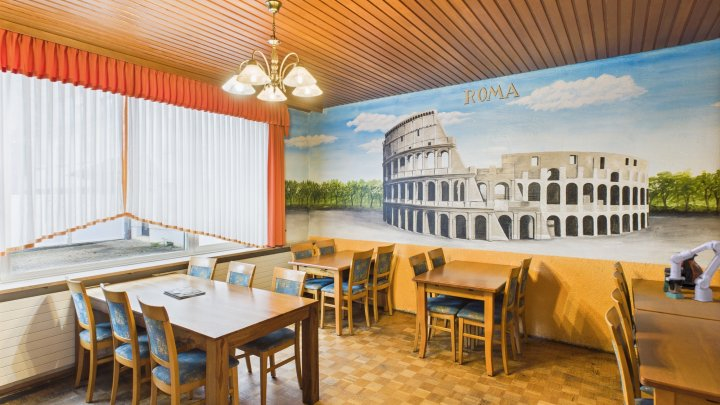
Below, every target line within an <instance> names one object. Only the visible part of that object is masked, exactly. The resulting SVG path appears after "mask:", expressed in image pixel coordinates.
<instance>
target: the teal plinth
mask: <svg viewBox="0 0 720 405" xmlns="http://www.w3.org/2000/svg"><path fill="white" fill-rule="evenodd" d="M665 292H666V291H665ZM665 296H666V297H667V298H671V299H674V300H683V299H685V294H683V293H673V292H666V294H665Z"/></svg>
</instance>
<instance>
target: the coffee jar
mask: <svg viewBox="0 0 720 405" xmlns="http://www.w3.org/2000/svg"><path fill="white" fill-rule="evenodd" d="M663 275H664V280H663V286H662V287H663V288H662V289H663V291H664V292H669V284H668V282H667V281H666V277H669V276H671V267H665V268H664V271H663ZM673 281H675V280H673ZM675 285H676V283H675Z"/></svg>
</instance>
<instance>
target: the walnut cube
mask: <svg viewBox="0 0 720 405" xmlns="http://www.w3.org/2000/svg"><path fill="white" fill-rule="evenodd" d="M669 292H673V293H680V294H682V288H681V286H679V285H675V286H674V290H670V287H669Z"/></svg>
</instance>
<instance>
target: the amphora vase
mask: <svg viewBox="0 0 720 405" xmlns="http://www.w3.org/2000/svg"><path fill="white" fill-rule="evenodd" d="M681 252H682V251H681ZM681 252H678V253H681ZM698 256H699V254H698V253H696V254H694V255H693V257H691V258H689V259H686V260H684V261H682V263H681V277H685V280H683V281H684V283H683V284H682V286H681V289H683V290H690V291H691V290H693V291H695V286H696V284H695V282H694V281H695V279H696V278H698V277H699V276H700V275H701V274H703V272H704V270H703V268H702V266H700V264H698V263H697V261H696V260H695V258H696V257H698Z"/></svg>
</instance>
